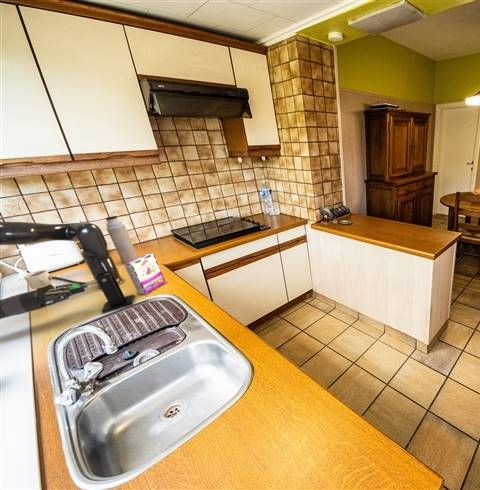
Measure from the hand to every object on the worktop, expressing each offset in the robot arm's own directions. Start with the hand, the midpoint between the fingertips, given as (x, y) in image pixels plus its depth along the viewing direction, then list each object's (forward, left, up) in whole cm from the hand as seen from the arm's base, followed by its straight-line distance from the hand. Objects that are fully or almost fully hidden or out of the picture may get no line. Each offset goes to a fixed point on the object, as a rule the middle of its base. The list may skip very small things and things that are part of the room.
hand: (85, 286), depth 110 cm
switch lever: (+1, +2, -1) cm, 2 cm away
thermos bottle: (-48, +34, -12) cm, 60 cm away
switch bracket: (+4, +6, -12) cm, 14 cm away
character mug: (-38, -4, -12) cm, 41 cm away
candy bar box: (+3, +20, -12) cm, 24 cm away
